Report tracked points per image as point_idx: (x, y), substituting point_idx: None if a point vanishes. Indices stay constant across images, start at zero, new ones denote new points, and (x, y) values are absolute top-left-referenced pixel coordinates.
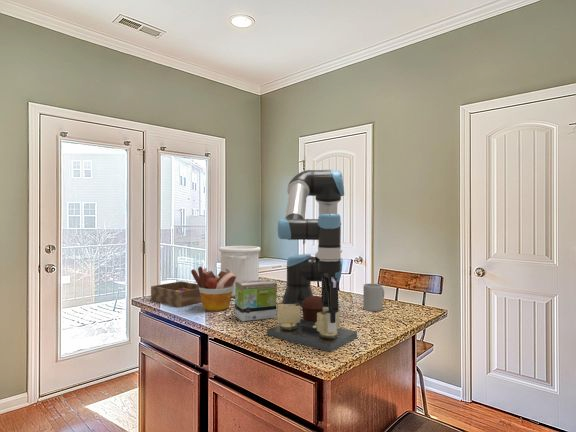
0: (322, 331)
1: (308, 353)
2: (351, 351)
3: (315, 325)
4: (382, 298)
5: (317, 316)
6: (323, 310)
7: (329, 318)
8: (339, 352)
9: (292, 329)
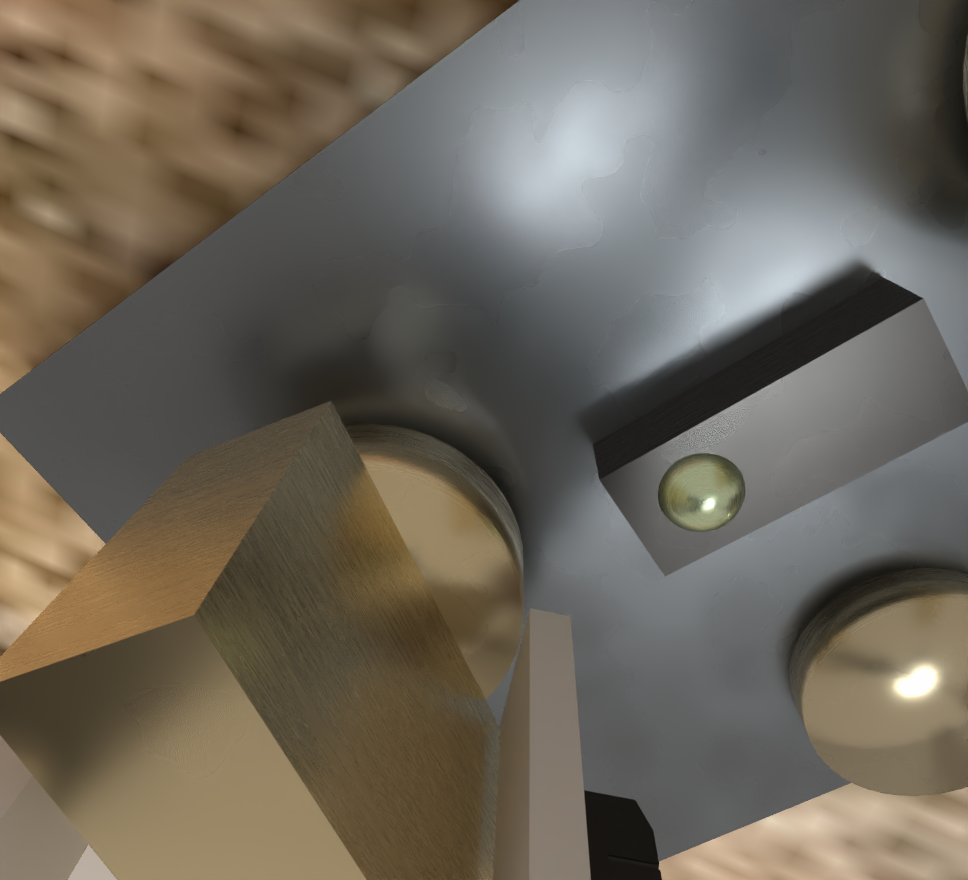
0: (195, 462)
1: (6, 34)
2: (34, 617)
3: (706, 521)
4: None
5: (219, 559)
6: (526, 876)
7: (4, 742)
8: (12, 478)
9: (964, 70)
